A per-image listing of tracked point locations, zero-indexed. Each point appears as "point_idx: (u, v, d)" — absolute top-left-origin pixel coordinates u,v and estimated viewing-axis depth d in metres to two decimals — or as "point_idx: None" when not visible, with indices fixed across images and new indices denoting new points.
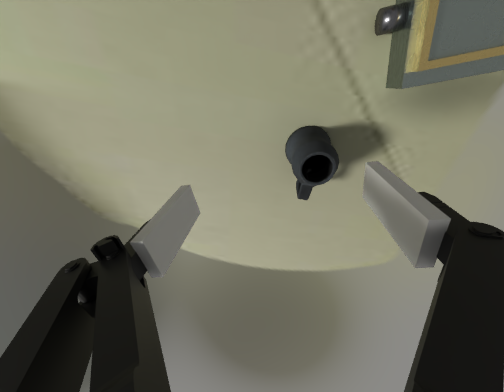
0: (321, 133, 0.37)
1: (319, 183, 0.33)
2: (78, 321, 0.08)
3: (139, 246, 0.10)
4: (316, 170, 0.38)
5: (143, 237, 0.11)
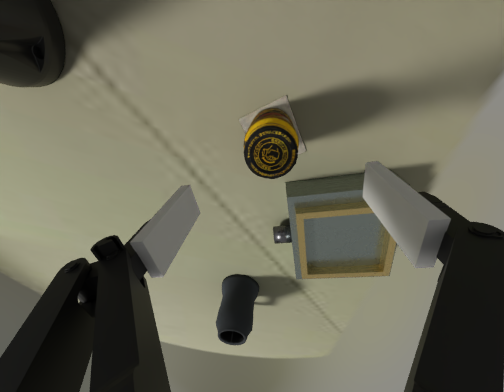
0: (246, 286, 0.45)
1: (236, 344, 0.40)
2: (78, 321, 0.08)
3: (139, 246, 0.10)
4: None
5: (143, 237, 0.11)
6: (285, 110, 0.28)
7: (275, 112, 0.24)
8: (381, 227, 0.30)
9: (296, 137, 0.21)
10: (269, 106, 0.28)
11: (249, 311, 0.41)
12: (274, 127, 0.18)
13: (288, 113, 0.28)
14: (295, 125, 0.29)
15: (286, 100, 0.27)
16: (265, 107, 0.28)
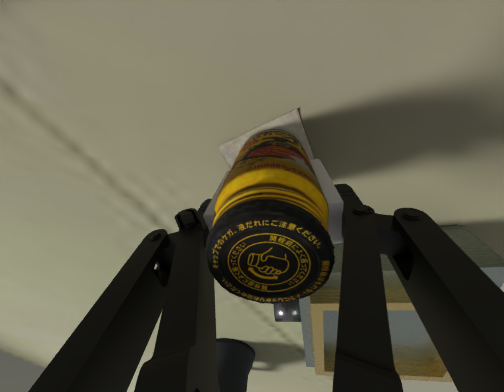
0: (237, 357, 0.33)
1: None
2: (151, 289, 0.09)
3: (211, 219, 0.11)
4: None
5: None
6: (295, 133, 0.17)
7: (279, 145, 0.12)
8: None
9: (325, 209, 0.10)
10: (268, 127, 0.17)
11: None
12: (277, 210, 0.07)
13: (300, 138, 0.17)
14: (311, 157, 0.17)
15: (297, 117, 0.16)
16: (261, 128, 0.17)
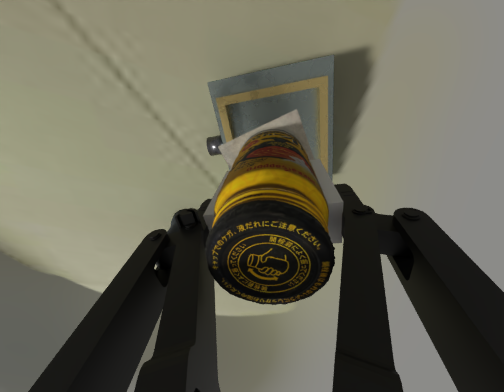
0: None
1: None
2: (151, 289, 0.09)
3: (211, 219, 0.11)
4: None
5: None
6: (295, 134, 0.17)
7: (278, 145, 0.12)
8: (313, 119, 0.28)
9: (325, 210, 0.09)
10: (268, 127, 0.17)
11: None
12: (277, 211, 0.07)
13: (300, 138, 0.17)
14: (311, 157, 0.17)
15: (297, 117, 0.16)
16: (261, 128, 0.17)
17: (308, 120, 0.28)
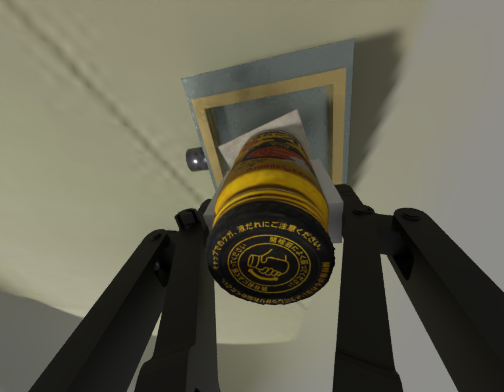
0: None
1: None
2: (151, 289, 0.09)
3: (211, 219, 0.11)
4: None
5: None
6: (295, 134, 0.17)
7: (279, 145, 0.12)
8: (323, 128, 0.21)
9: (325, 210, 0.09)
10: (268, 127, 0.17)
11: None
12: (277, 211, 0.07)
13: (300, 139, 0.17)
14: (311, 157, 0.17)
15: (297, 118, 0.16)
16: (261, 129, 0.17)
17: (316, 129, 0.21)
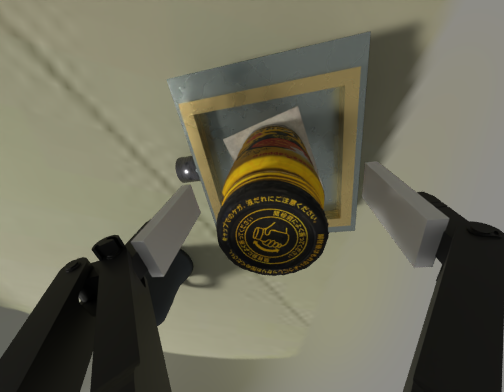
0: None
1: None
2: (79, 320, 0.08)
3: (140, 246, 0.10)
4: None
5: (144, 237, 0.11)
6: (295, 129, 0.18)
7: (281, 137, 0.14)
8: (331, 136, 0.18)
9: (321, 194, 0.11)
10: (270, 122, 0.18)
11: (162, 290, 0.29)
12: (281, 188, 0.08)
13: (300, 134, 0.18)
14: (309, 152, 0.19)
15: (298, 114, 0.17)
16: (264, 123, 0.18)
17: (323, 137, 0.18)
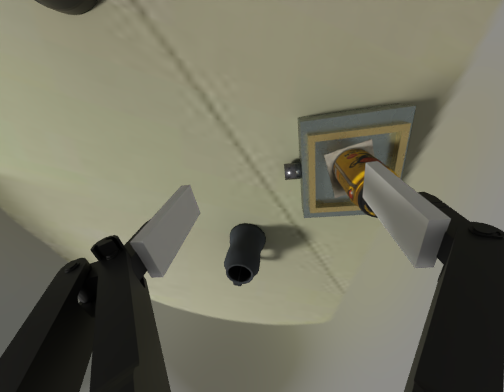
0: (254, 233, 0.46)
1: (243, 282, 0.41)
2: (78, 321, 0.08)
3: (139, 246, 0.10)
4: None
5: (143, 237, 0.11)
6: (368, 151, 0.32)
7: (371, 157, 0.28)
8: (388, 155, 0.32)
9: None
10: (354, 146, 0.32)
11: (256, 253, 0.43)
12: None
13: (370, 153, 0.32)
14: None
15: (371, 143, 0.31)
16: (350, 147, 0.32)
17: (383, 156, 0.32)
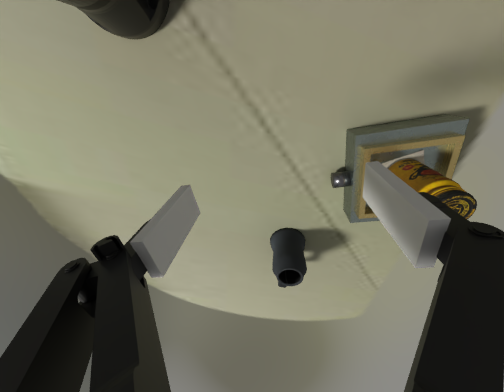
0: (296, 237, 0.49)
1: (292, 285, 0.44)
2: (78, 321, 0.08)
3: (139, 246, 0.10)
4: None
5: (143, 237, 0.11)
6: (419, 160, 0.34)
7: (430, 169, 0.30)
8: (437, 164, 0.34)
9: None
10: (406, 157, 0.34)
11: (303, 256, 0.45)
12: (464, 193, 0.24)
13: (420, 163, 0.34)
14: None
15: (422, 153, 0.33)
16: (402, 157, 0.34)
17: (433, 164, 0.34)
